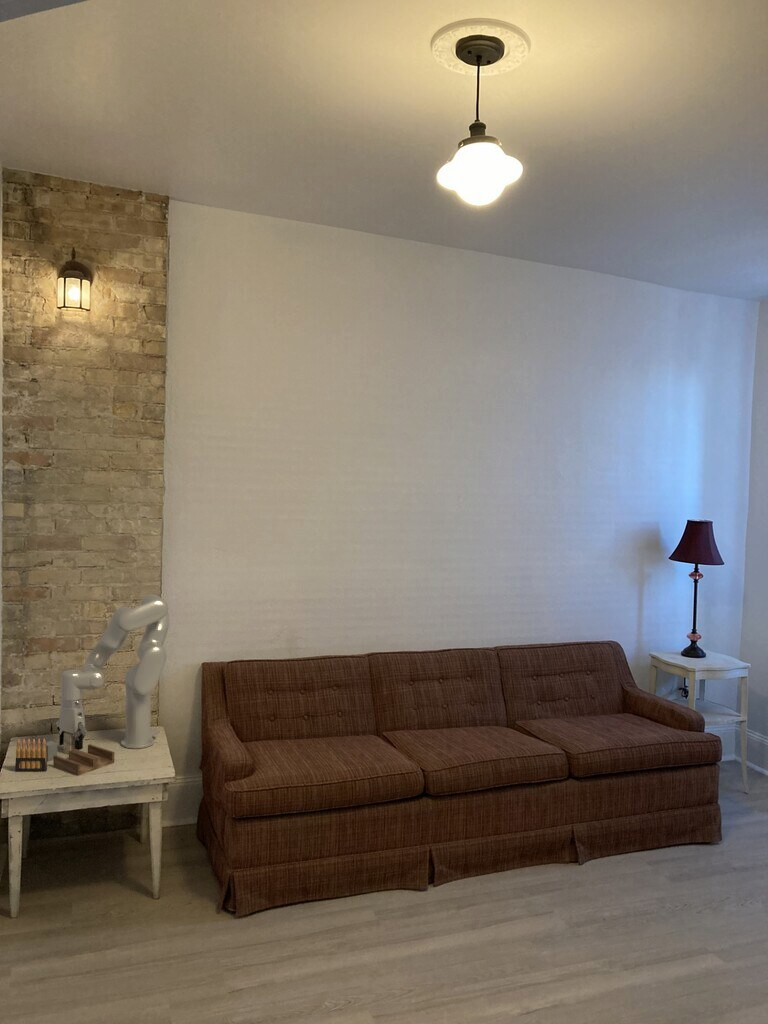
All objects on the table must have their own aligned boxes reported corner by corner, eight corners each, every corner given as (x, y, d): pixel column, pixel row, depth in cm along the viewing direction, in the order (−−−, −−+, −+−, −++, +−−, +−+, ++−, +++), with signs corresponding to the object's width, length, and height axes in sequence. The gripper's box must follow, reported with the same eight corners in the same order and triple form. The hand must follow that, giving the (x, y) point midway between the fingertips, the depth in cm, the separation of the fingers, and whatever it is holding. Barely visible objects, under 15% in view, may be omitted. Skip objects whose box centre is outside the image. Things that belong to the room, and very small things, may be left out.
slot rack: (89, 754, 314) (89, 744, 314) (114, 762, 307) (114, 752, 306) (53, 766, 300) (53, 756, 300) (78, 775, 293) (78, 764, 293)
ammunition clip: (14, 771, 295) (15, 739, 294) (16, 770, 296) (16, 737, 296) (45, 771, 296) (46, 739, 295) (47, 769, 298) (47, 737, 297)
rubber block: (50, 756, 311) (50, 740, 310) (57, 758, 309) (57, 743, 308) (41, 759, 307) (41, 743, 307) (47, 761, 305) (47, 746, 305)
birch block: (72, 750, 318) (72, 730, 317) (79, 752, 316) (79, 732, 315) (63, 753, 315) (63, 732, 314) (70, 755, 312) (70, 734, 312)
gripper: (94, 704, 313) (93, 749, 314) (65, 696, 322) (64, 739, 323) (78, 709, 306) (77, 754, 307) (48, 700, 315) (48, 744, 316)
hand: (70, 746), depth 315 cm, fingers open, 8 cm apart
